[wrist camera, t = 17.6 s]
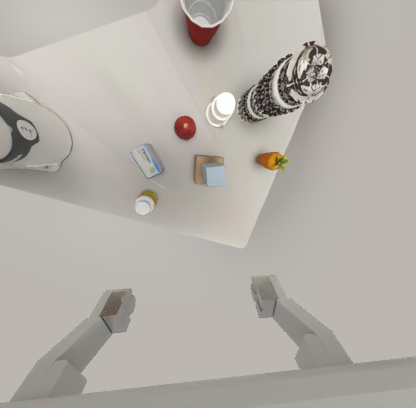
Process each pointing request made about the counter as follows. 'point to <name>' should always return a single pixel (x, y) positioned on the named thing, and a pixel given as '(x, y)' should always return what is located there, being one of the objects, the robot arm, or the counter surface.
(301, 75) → the decorative candle
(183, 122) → the red round fruit
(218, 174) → the slate pillar
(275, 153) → the carrot
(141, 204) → the supplement bottle
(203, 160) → the walnut block
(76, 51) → the counter surface
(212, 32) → the plastic cup
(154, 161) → the medicine box
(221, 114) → the downlight
